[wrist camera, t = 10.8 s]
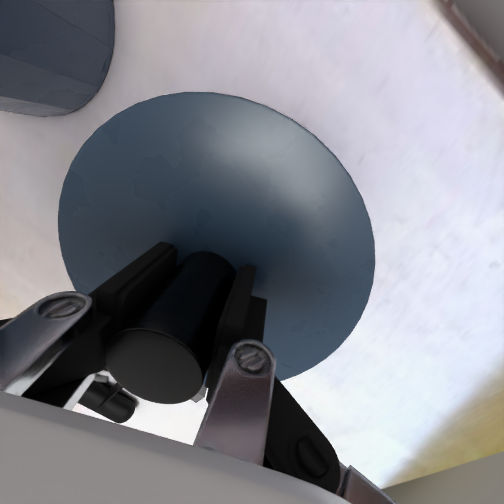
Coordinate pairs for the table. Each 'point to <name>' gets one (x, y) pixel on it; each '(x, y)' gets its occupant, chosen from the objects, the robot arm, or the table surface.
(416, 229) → the table surface
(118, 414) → the door handle
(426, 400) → the table surface
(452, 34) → the table surface
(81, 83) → the pot
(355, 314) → the pot lid
